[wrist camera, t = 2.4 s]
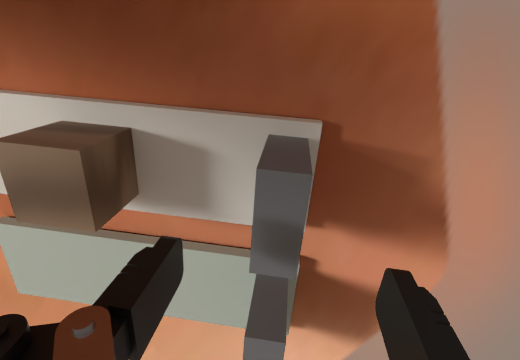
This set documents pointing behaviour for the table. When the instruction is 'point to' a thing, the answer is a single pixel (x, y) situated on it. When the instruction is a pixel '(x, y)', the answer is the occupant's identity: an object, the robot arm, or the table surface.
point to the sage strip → (186, 297)
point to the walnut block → (69, 174)
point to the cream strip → (203, 164)
